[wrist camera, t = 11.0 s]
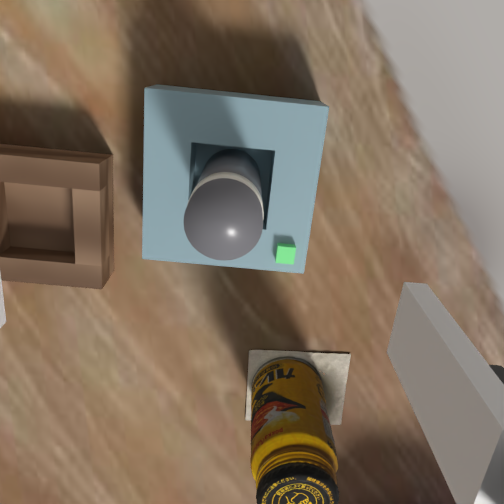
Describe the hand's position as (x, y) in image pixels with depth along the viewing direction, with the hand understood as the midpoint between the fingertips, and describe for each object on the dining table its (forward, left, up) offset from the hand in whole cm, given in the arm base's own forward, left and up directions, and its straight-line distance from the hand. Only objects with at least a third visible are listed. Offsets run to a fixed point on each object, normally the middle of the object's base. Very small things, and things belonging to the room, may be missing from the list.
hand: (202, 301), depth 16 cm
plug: (0, 0, -19) cm, 19 cm away
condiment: (+18, +7, -20) cm, 28 cm away
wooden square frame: (+4, -13, -20) cm, 24 cm away
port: (0, 0, -20) cm, 20 cm away
